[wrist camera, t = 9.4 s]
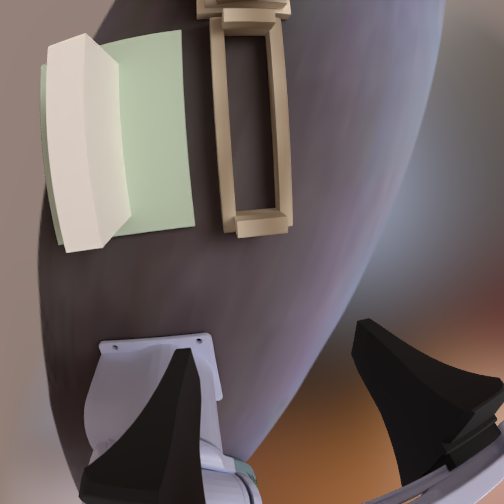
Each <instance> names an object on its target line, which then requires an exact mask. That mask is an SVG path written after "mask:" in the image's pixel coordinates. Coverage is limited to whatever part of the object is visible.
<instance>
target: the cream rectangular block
mask: <svg viewBox="0 0 504 504" xmlns="http://www.w3.org/2000/svg"><path fill="white" fill-rule="evenodd" d="M46 124H47V141H48V152H49V162H50V171H51V178H52V185H53V192H54V198H55V203H56V209H57V214H58V219H59V224H60V229H61V233H62V237H63V242H64V246H65V250H66V253H69V252H76V251H83V250H90V249H97V248H103V247H104V246H105V244H106V243H107V242H108V241H109V240H110V239H111V238H112V236H113V235H114V234H115V233H116V232H117V231H118V230H119V229H120V228H121V226H122V225H123V224H124V223H125V222H126V221H127V220H128V219H129V218H130V217H131V210H130V204H129V197H128V190H127V183H126V175H125V166H124V157H123V147H122V135H121V121H120V102H119V64H118V63H117V62H116V61H115V60H114V59H113V58H112V57H111V56H110V55H109V54H107V53H106V52H105V51H104V50H103V49H102V48H101V47H100V46H99V45H98V44H97V43H96V42H95V41H94V40H93V39H91V38H90V37H89V36H88V35H87V34H86V33H85V34H82V35H79V36H76V37H73V38H70V39H67V40H64V41H62V42H59V43H56V44H54V45H51V46H49V47H48V56H47V72H46Z"/></svg>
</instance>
